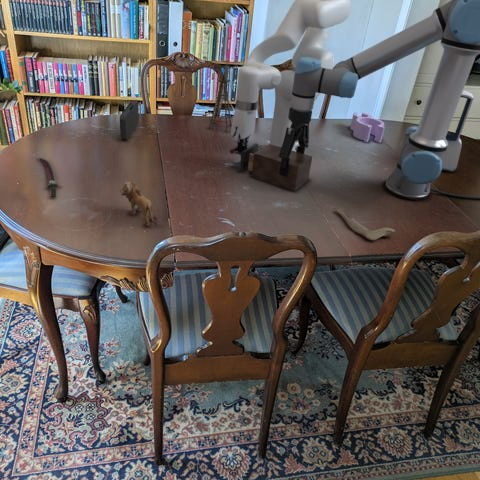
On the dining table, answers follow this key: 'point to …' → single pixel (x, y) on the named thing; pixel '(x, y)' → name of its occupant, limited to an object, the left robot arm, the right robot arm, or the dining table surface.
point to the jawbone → (362, 230)
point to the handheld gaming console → (129, 119)
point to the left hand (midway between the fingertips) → (241, 154)
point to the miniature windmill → (224, 81)
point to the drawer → (246, 156)
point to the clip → (367, 127)
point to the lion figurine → (137, 201)
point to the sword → (52, 181)
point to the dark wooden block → (269, 167)
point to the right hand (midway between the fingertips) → (290, 169)
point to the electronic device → (456, 138)
